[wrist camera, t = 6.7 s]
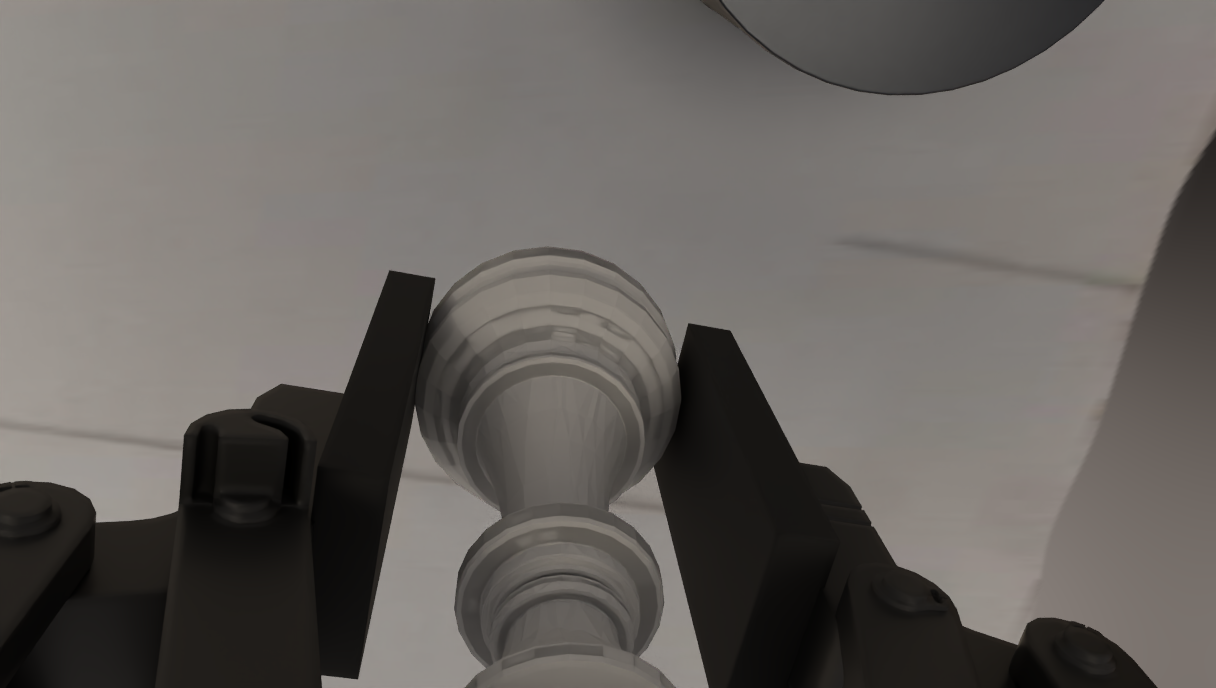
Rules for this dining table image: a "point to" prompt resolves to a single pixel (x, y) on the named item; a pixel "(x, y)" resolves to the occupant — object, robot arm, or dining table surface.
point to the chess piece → (552, 462)
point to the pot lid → (906, 38)
